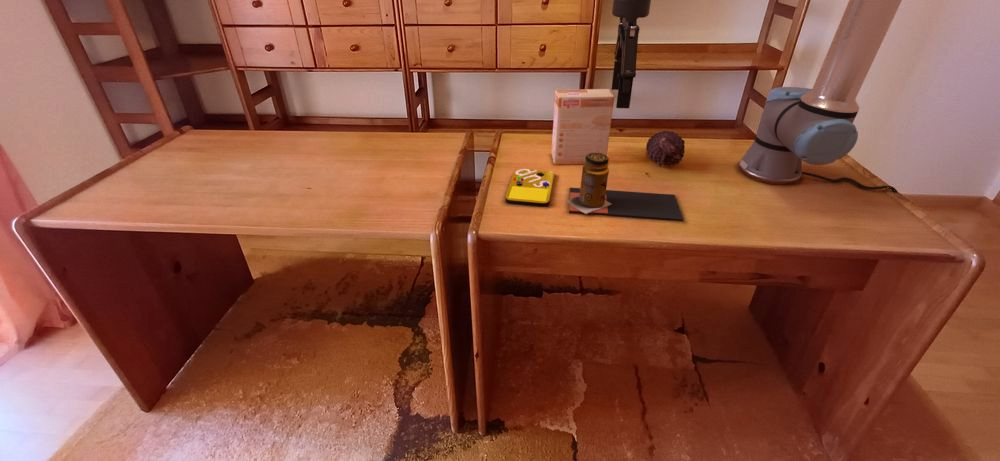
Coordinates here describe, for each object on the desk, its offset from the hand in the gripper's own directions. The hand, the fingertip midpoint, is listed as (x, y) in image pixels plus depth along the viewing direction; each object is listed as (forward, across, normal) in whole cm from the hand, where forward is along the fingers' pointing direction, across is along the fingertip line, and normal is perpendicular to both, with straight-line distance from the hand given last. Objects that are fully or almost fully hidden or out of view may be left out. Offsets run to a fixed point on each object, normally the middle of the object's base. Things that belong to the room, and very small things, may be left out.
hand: (619, 98), depth 109 cm
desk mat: (+24, +7, +3) cm, 25 cm away
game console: (+24, +1, -20) cm, 31 cm away
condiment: (+23, +8, -5) cm, 25 cm away
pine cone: (+24, -20, +17) cm, 36 cm away
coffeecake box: (+24, -19, -7) cm, 31 cm away
